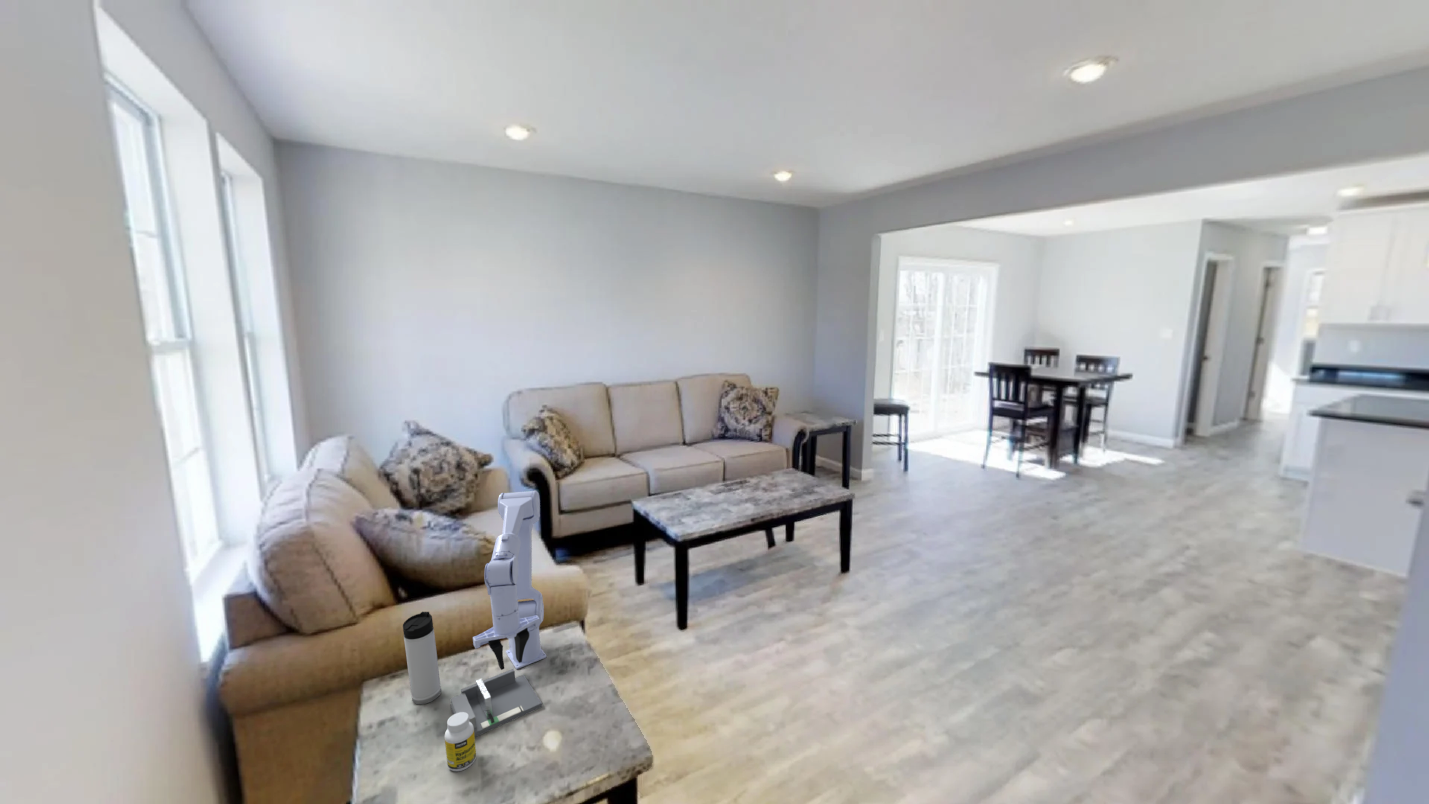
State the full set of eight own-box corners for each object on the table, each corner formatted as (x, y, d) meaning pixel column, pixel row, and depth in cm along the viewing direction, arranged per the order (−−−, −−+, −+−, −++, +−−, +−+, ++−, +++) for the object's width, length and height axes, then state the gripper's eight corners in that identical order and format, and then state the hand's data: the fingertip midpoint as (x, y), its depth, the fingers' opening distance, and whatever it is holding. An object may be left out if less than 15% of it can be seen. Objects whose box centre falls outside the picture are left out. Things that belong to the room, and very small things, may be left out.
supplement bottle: (456, 777, 109) (451, 732, 108) (442, 764, 112) (437, 721, 111) (482, 759, 113) (477, 716, 112) (468, 747, 117) (463, 705, 115)
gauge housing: (450, 708, 128) (448, 692, 128) (524, 678, 138) (522, 663, 138) (463, 741, 118) (462, 725, 117) (542, 706, 128) (541, 691, 127)
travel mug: (447, 686, 136) (438, 611, 133) (431, 705, 130) (421, 626, 126) (423, 685, 137) (414, 610, 134) (406, 704, 130) (395, 626, 127)
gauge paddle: (477, 698, 129) (475, 680, 129) (483, 696, 130) (481, 678, 129) (490, 724, 121) (488, 705, 120) (495, 722, 122) (493, 703, 121)
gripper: (476, 628, 119) (482, 685, 122) (542, 606, 128) (547, 659, 130) (468, 615, 125) (474, 669, 127) (532, 594, 134) (536, 646, 136)
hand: (510, 663), depth 129 cm, fingers open, 3 cm apart
